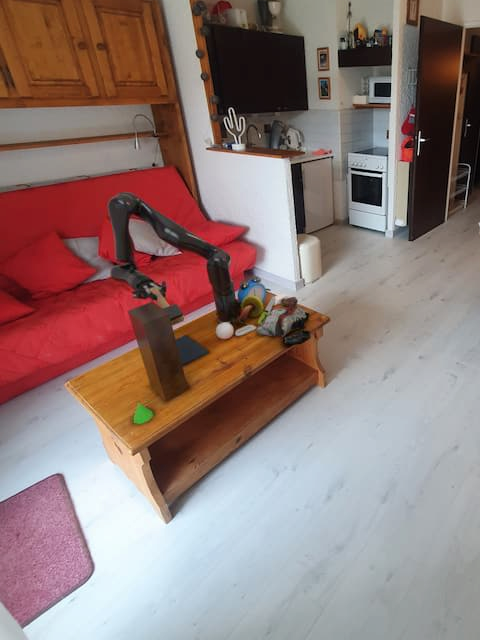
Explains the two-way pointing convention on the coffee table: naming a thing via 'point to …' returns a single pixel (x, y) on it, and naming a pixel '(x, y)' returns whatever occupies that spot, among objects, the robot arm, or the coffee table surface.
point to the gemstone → (142, 414)
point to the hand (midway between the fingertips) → (160, 296)
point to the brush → (168, 307)
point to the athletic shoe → (291, 320)
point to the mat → (189, 349)
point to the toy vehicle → (280, 298)
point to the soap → (245, 330)
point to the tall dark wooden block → (158, 350)
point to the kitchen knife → (266, 311)
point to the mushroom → (249, 309)
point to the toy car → (296, 338)
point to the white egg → (224, 330)
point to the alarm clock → (251, 289)
